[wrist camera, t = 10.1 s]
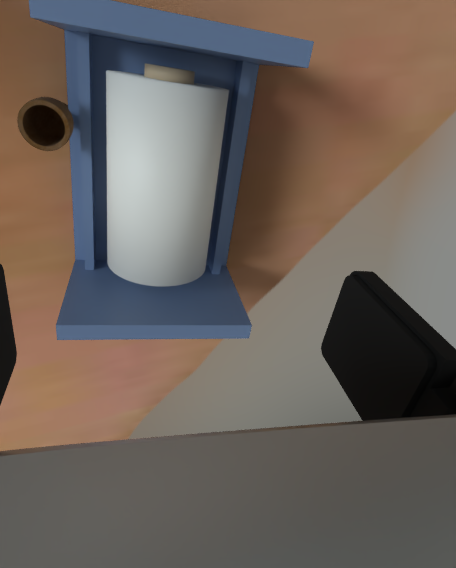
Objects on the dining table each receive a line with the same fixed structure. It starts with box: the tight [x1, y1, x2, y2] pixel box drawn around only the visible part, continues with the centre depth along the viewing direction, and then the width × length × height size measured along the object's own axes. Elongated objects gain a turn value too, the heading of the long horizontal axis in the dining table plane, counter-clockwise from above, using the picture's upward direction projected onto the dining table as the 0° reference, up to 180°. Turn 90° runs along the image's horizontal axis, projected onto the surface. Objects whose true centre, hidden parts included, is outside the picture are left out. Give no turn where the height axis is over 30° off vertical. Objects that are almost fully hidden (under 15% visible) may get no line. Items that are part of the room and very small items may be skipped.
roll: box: [106, 63, 229, 287], centre depth 23 cm, size 12×6×6 cm, turn 172°
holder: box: [29, 0, 314, 340], centre depth 23 cm, size 16×11×9 cm
